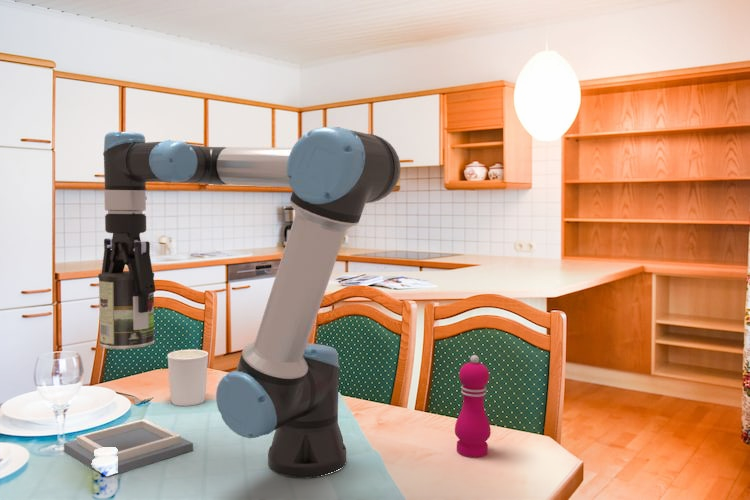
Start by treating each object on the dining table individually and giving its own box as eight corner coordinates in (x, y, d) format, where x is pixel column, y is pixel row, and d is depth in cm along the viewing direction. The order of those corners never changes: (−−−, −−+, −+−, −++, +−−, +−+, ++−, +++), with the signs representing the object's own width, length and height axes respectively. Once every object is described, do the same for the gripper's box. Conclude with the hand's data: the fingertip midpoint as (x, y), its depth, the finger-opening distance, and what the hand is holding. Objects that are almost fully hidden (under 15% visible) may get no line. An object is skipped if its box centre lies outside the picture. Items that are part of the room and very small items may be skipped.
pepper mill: (447, 447, 135) (450, 352, 134) (477, 443, 138) (480, 349, 136) (466, 460, 129) (468, 360, 127) (497, 455, 131) (499, 357, 130)
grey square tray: (193, 450, 132) (193, 435, 132) (106, 477, 118) (105, 461, 118) (147, 428, 144) (147, 415, 144) (64, 450, 130) (63, 436, 130)
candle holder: (216, 399, 165) (216, 352, 164) (186, 409, 157) (186, 360, 156) (189, 393, 170) (189, 347, 170) (159, 402, 162) (158, 354, 161)
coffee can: (164, 340, 134) (164, 271, 132) (136, 351, 123) (135, 277, 122) (119, 337, 136) (118, 269, 134) (88, 348, 125) (86, 275, 124)
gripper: (174, 213, 123) (175, 330, 124) (116, 211, 138) (118, 315, 140) (136, 214, 117) (138, 336, 119) (81, 211, 132) (83, 319, 134)
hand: (127, 325), depth 129 cm, fingers closed on coffee can, 10 cm apart
